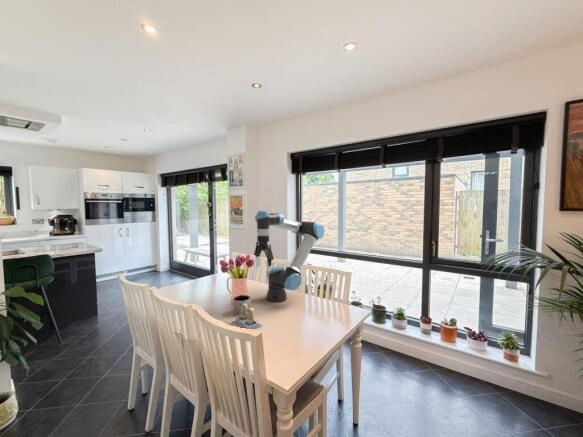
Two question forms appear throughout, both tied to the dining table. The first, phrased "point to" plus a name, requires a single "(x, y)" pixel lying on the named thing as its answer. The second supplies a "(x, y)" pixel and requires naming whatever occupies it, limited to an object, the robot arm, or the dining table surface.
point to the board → (244, 323)
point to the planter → (238, 301)
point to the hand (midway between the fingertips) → (263, 268)
